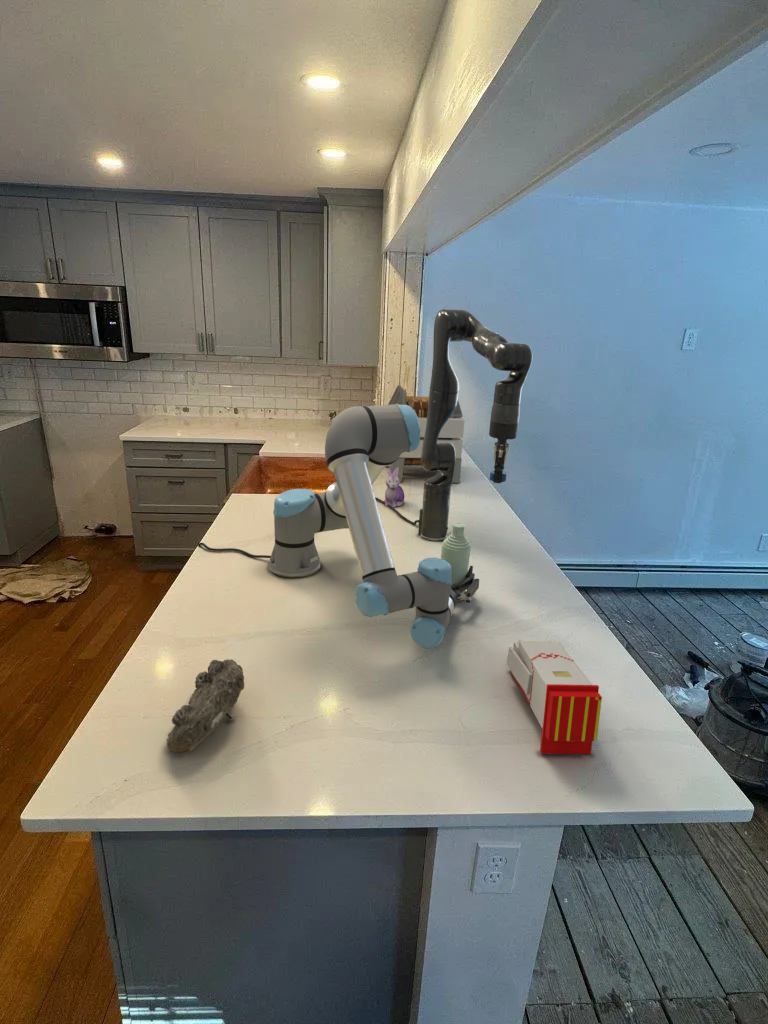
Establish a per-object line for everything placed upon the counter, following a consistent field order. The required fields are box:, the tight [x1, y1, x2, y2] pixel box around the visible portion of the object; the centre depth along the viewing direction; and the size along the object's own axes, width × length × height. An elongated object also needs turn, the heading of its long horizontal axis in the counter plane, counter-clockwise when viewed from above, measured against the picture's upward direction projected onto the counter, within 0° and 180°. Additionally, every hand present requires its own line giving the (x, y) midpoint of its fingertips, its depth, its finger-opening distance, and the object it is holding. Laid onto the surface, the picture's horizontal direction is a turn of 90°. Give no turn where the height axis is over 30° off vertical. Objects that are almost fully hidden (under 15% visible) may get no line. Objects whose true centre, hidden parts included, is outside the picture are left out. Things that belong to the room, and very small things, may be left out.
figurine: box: [383, 467, 405, 508], centre depth 227 cm, size 9×10×15 cm
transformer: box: [386, 384, 465, 484], centre depth 268 cm, size 34×33×41 cm
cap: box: [489, 470, 507, 483], centre depth 159 cm, size 4×4×2 cm
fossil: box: [166, 658, 245, 754], centre depth 106 cm, size 22×10×15 cm
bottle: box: [440, 522, 472, 602], centre depth 155 cm, size 8×8×21 cm
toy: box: [506, 640, 603, 755], centre depth 114 cm, size 12×13×30 cm
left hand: (456, 567), depth 161 cm, fingers closed on bottle, 8 cm apart
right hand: (497, 480), depth 159 cm, fingers closed on cap, 4 cm apart
